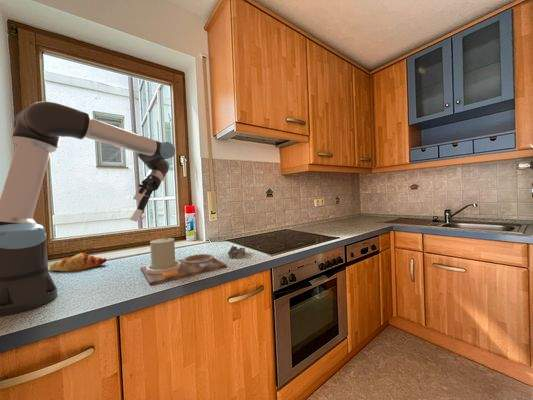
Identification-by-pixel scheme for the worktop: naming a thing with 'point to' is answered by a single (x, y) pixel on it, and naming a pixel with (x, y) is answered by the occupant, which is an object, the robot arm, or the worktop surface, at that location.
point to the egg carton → (236, 252)
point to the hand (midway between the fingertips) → (135, 210)
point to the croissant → (77, 263)
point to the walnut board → (187, 268)
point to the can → (162, 253)
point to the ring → (165, 270)
